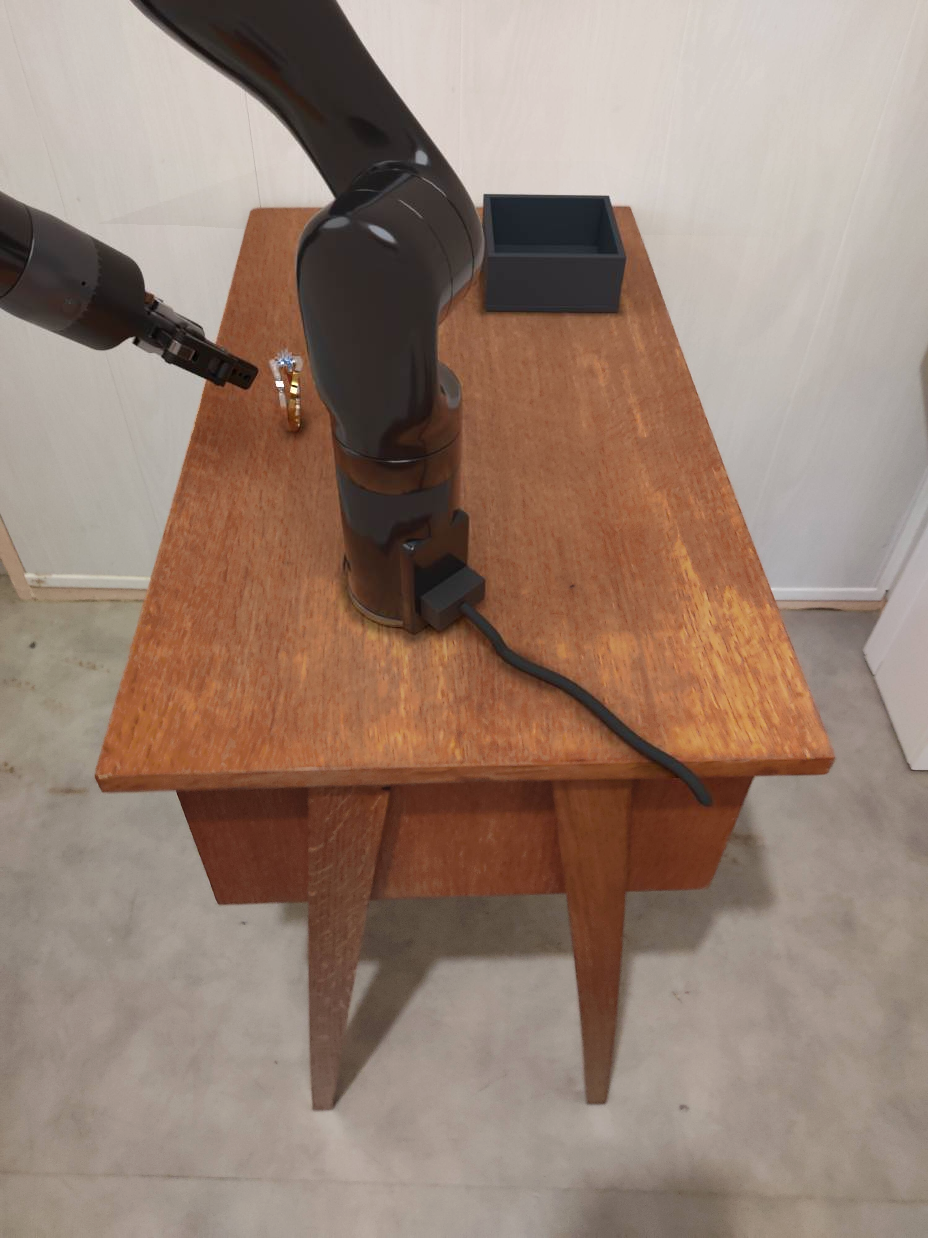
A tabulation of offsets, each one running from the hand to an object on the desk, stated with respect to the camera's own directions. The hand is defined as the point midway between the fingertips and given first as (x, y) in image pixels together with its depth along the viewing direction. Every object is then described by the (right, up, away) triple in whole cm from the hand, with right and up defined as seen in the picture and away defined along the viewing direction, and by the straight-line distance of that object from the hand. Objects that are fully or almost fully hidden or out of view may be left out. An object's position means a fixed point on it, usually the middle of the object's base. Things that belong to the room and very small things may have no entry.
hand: (223, 357), depth 77 cm
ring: (+4, -4, +11) cm, 12 cm away
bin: (+31, +19, +31) cm, 48 cm away
